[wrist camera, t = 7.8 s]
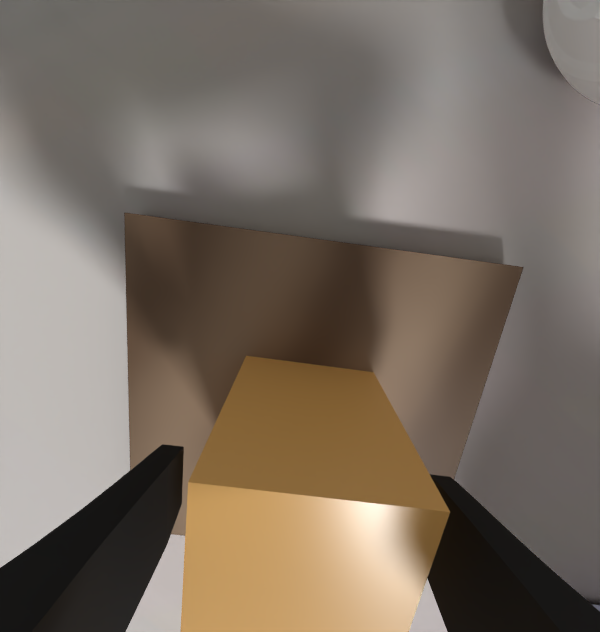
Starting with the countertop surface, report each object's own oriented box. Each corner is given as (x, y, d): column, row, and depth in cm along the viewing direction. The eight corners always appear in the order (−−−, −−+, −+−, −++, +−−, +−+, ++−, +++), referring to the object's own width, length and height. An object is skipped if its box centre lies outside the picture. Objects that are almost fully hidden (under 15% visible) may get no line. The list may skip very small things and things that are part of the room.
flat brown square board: (504, 264, 11) (632, 281, 7) (419, 538, 15) (468, 663, 11) (140, 214, 11) (31, 198, 6) (143, 510, 14) (75, 628, 10)
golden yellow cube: (373, 372, 11) (450, 512, 6) (350, 476, 13) (392, 677, 7) (246, 355, 11) (187, 482, 5) (235, 462, 12) (179, 658, 7)
